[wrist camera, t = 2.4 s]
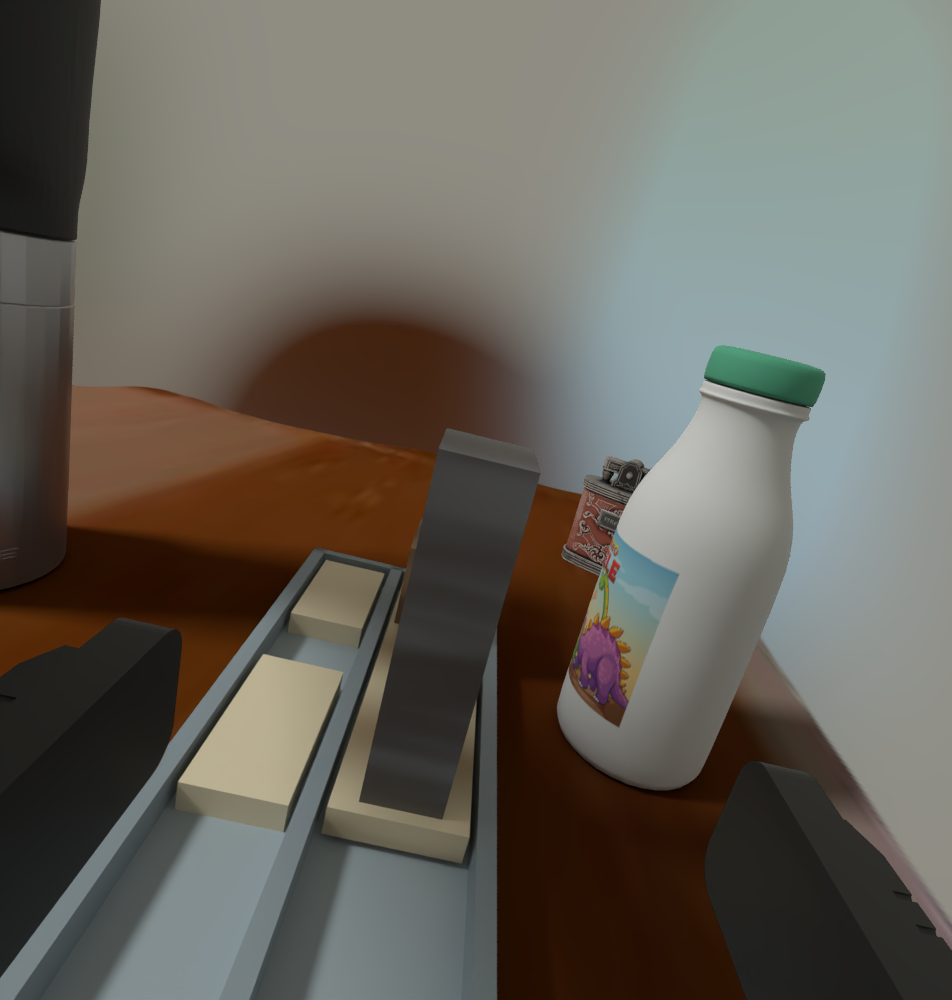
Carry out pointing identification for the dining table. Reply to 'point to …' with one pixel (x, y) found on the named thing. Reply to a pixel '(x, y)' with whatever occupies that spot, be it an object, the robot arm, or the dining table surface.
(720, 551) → the milk bottle
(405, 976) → the lane board
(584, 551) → the lighter
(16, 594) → the dining table surface
